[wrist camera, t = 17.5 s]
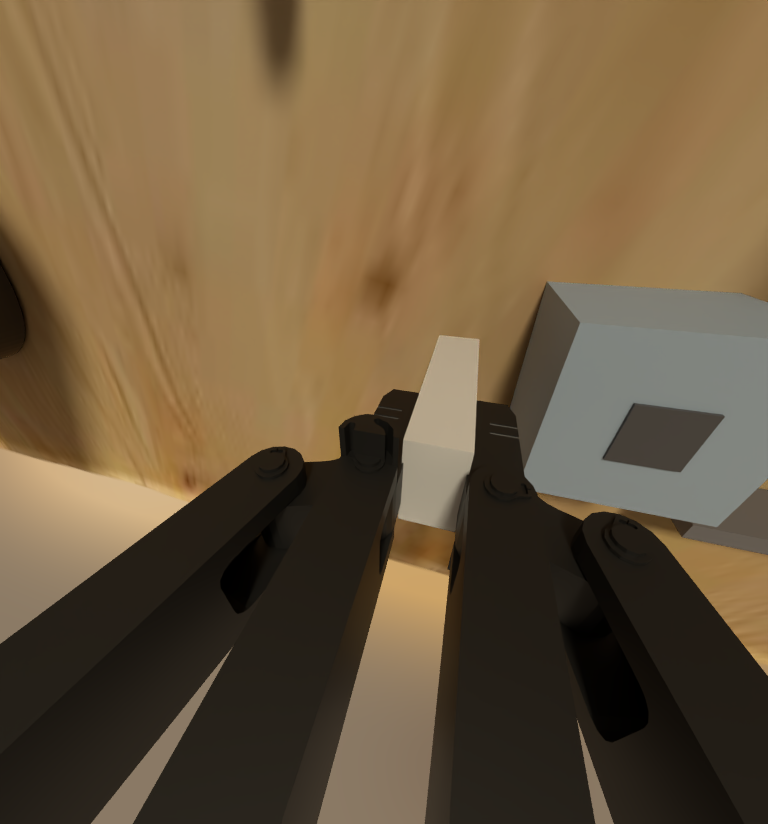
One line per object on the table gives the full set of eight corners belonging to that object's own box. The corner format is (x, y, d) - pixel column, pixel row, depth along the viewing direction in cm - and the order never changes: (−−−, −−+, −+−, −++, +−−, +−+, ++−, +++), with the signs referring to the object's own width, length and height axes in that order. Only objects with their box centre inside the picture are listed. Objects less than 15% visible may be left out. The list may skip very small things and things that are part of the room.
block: (507, 411, 15) (517, 490, 11) (546, 280, 11) (581, 324, 7) (648, 432, 14) (719, 529, 10) (738, 292, 10) (907, 352, 6)
